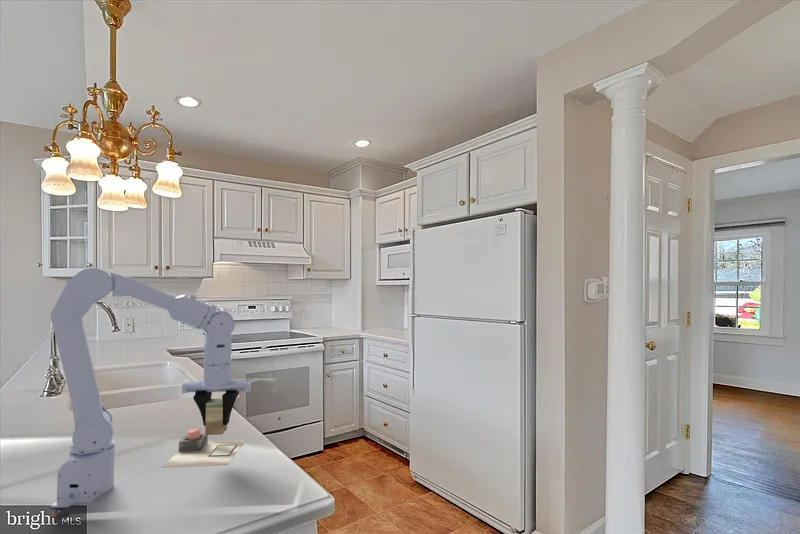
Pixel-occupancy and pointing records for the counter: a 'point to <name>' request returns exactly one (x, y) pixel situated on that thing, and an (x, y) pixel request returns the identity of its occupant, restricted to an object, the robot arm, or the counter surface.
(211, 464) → the brown framed board
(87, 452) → the robot arm
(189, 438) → the button
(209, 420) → the green topped wooden block
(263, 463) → the counter surface
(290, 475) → the counter surface
